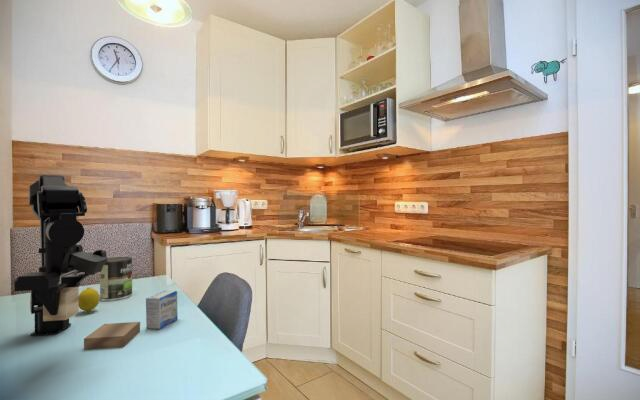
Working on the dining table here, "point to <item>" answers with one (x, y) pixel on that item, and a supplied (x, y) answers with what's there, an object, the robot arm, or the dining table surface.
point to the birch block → (65, 305)
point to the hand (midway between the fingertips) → (61, 311)
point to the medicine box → (161, 309)
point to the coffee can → (116, 279)
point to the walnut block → (112, 335)
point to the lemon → (88, 299)
